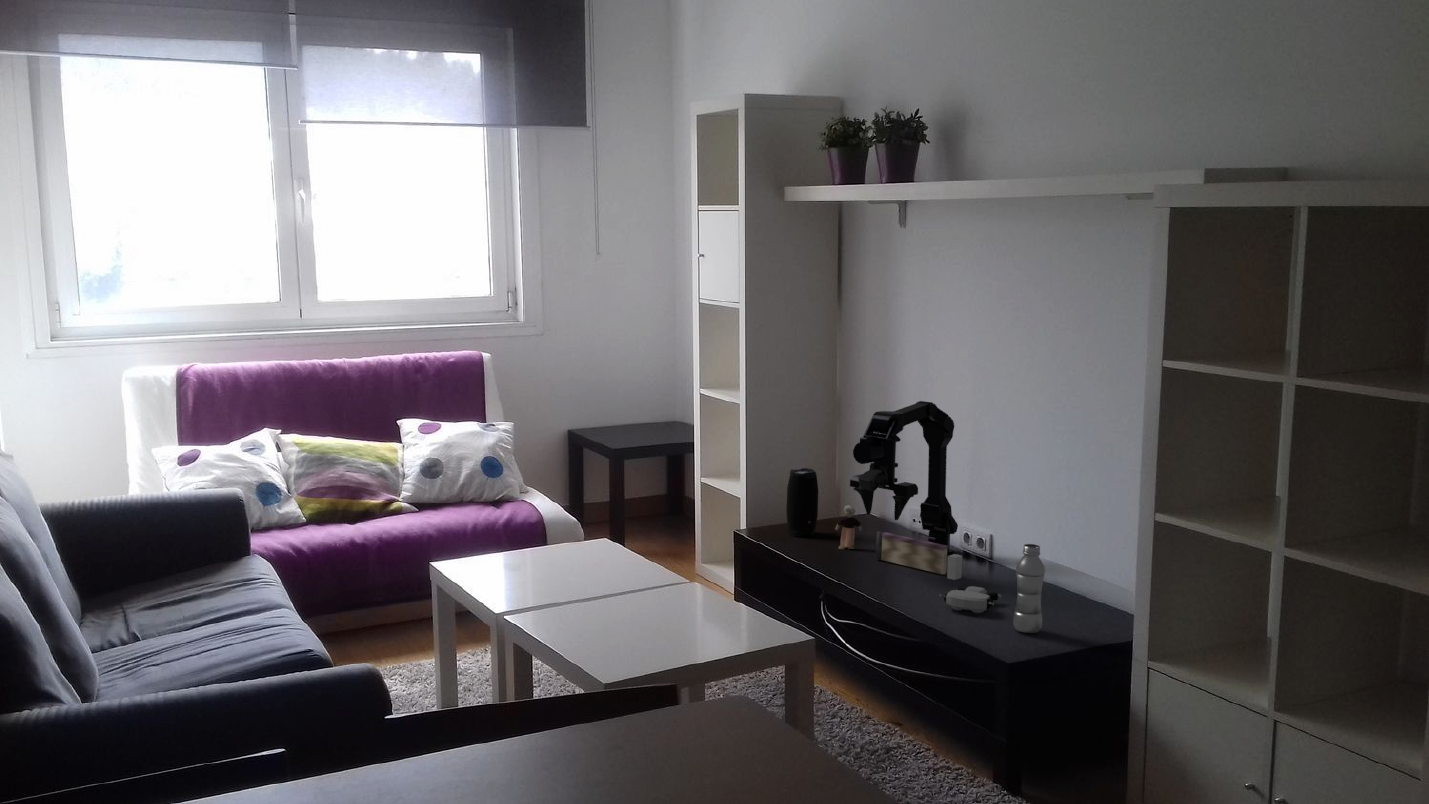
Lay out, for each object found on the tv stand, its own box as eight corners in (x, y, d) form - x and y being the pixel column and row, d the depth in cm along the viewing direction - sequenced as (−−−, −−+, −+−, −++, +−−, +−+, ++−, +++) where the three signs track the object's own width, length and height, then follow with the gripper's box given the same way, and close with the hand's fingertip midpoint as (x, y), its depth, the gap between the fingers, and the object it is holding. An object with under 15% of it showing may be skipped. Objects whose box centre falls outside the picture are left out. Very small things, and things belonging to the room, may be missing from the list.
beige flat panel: (874, 558, 334) (875, 532, 333) (879, 557, 336) (880, 530, 335) (942, 574, 319) (943, 547, 318) (946, 573, 320) (948, 545, 319)
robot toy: (954, 599, 302) (937, 611, 288) (955, 581, 301) (938, 592, 288) (1003, 607, 296) (988, 619, 283) (1004, 589, 296) (990, 600, 283)
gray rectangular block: (953, 576, 320) (954, 554, 319) (961, 577, 318) (962, 555, 317) (947, 578, 317) (948, 556, 317) (954, 580, 316) (956, 557, 315)
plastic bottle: (1038, 627, 278) (1042, 542, 275) (1044, 636, 271) (1049, 550, 268) (1009, 626, 278) (1014, 541, 275) (1015, 636, 271) (1020, 549, 268)
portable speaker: (818, 538, 358) (820, 473, 356) (787, 537, 358) (789, 472, 355) (815, 531, 367) (816, 467, 364) (784, 530, 366) (785, 467, 364)
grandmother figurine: (835, 550, 344) (837, 506, 343) (834, 546, 348) (835, 503, 347) (862, 550, 345) (864, 506, 343) (860, 547, 349) (862, 504, 347)
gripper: (837, 458, 321) (835, 515, 323) (894, 468, 308) (892, 527, 310) (863, 453, 329) (861, 509, 331) (920, 463, 316) (918, 521, 318)
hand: (882, 517), depth 322 cm, fingers open, 9 cm apart
